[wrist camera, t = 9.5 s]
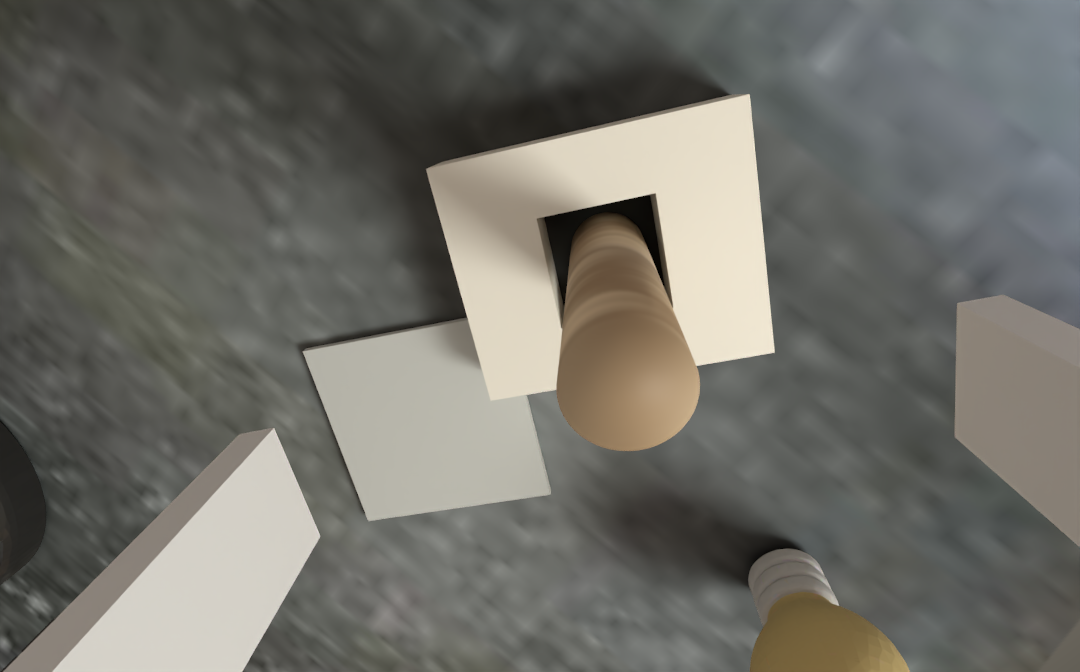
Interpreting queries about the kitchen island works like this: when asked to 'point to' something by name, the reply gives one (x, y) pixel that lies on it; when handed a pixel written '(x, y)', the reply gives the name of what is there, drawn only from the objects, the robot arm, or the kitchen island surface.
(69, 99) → the kitchen island surface
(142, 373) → the kitchen island surface
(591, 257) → the dowel
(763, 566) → the light bulb
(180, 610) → the robot arm
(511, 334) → the hole block
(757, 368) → the kitchen island surface
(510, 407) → the mat
